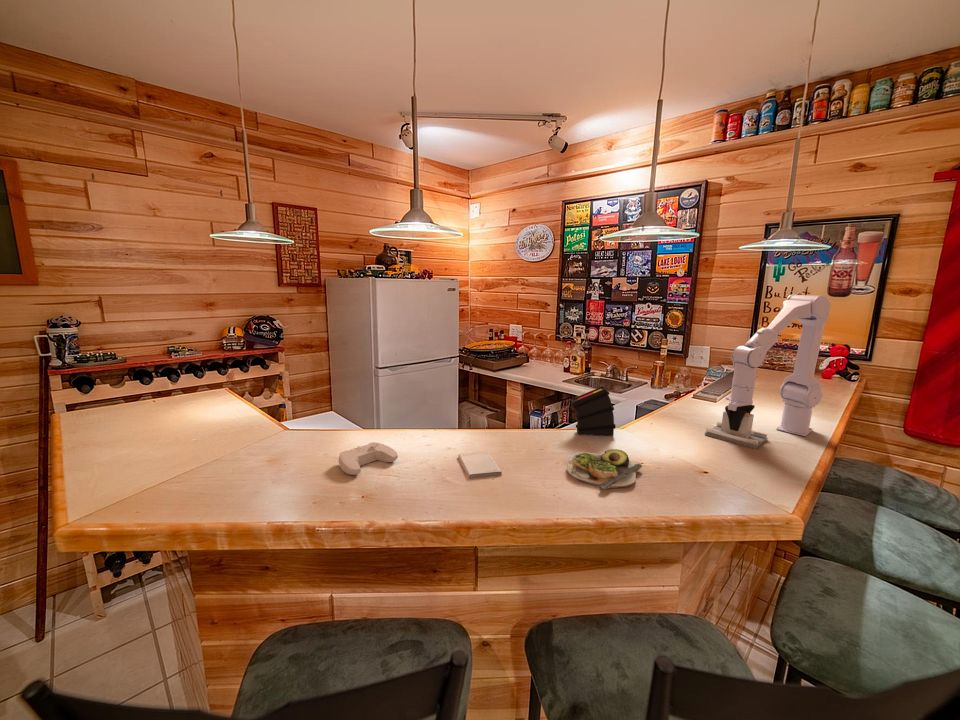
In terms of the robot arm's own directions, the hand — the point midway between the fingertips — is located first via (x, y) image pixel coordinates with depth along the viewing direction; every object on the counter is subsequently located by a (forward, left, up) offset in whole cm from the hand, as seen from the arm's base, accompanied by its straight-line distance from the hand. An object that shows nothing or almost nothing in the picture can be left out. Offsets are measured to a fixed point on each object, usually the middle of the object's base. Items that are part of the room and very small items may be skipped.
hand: (736, 428), depth 130 cm
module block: (0, 0, -2) cm, 2 cm away
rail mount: (0, 0, -3) cm, 3 cm away
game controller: (+97, -54, -3) cm, 111 cm away
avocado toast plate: (+53, -13, -3) cm, 55 cm away
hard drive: (+75, -35, -4) cm, 83 cm away
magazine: (+33, -30, -3) cm, 45 cm away
